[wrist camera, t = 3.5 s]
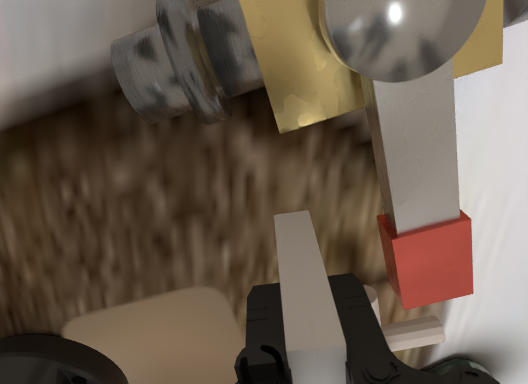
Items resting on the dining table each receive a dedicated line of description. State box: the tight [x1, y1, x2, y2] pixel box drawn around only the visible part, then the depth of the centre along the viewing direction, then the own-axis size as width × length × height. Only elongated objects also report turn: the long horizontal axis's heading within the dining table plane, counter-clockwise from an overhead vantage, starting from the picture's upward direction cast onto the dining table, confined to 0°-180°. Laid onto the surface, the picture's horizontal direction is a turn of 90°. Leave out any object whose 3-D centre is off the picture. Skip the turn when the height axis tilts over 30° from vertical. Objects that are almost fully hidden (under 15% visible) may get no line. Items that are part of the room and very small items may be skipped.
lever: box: [318, 0, 487, 310], centre depth 12 cm, size 14×4×2 cm, turn 18°
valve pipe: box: [111, 0, 528, 134], centre depth 15 cm, size 22×7×9 cm, turn 108°
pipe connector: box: [363, 285, 445, 352], centre depth 24 cm, size 10×10×10 cm
